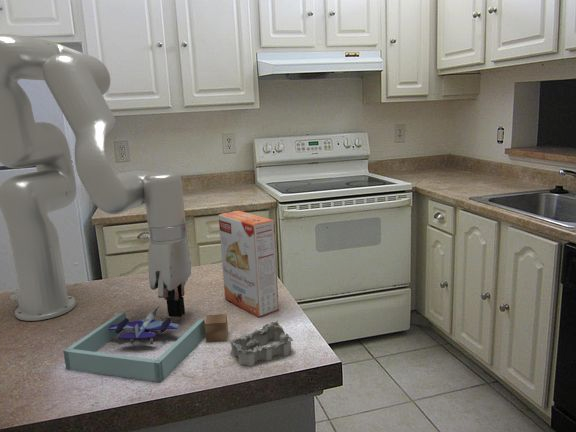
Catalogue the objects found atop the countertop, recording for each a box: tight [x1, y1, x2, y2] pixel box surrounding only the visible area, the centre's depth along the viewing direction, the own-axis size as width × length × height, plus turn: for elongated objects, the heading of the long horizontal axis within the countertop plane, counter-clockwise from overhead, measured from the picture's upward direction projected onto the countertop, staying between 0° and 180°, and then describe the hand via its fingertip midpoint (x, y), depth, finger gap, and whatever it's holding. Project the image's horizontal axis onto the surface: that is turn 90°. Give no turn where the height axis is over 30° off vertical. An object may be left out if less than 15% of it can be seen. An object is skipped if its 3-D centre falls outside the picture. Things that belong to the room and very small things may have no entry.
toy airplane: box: [109, 305, 180, 345], centre depth 97 cm, size 13×14×4 cm
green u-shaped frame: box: [63, 310, 206, 383], centre depth 90 cm, size 19×17×4 cm
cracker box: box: [218, 210, 280, 318], centre depth 108 cm, size 14×6×21 cm, turn 39°
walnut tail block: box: [204, 313, 229, 344], centre depth 95 cm, size 4×4×4 cm
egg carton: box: [228, 320, 294, 367], centre depth 88 cm, size 11×8×4 cm
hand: (176, 315), depth 103 cm, fingers closed
